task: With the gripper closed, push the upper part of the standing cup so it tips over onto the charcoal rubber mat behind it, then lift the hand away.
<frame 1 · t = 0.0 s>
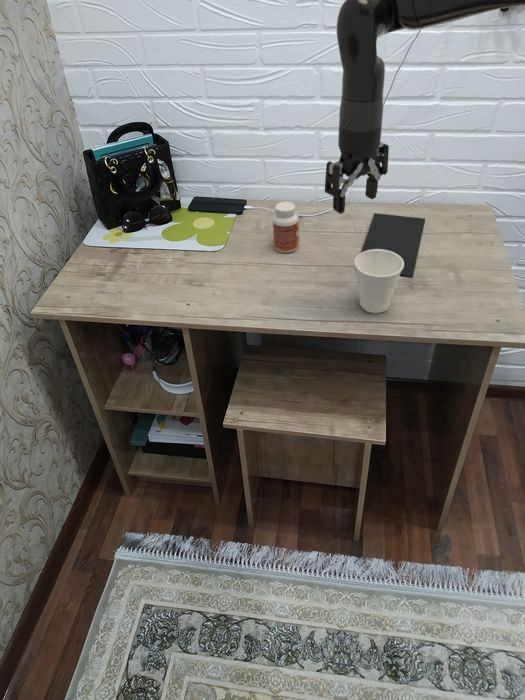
hand: (355, 204, 112), 21 cm above the table, tool pointing down, fingers open, 8 cm apart
pill bottle: (286, 247, 141), on the table
mat: (391, 243, 139), on the table
cup: (374, 306, 122), on the table
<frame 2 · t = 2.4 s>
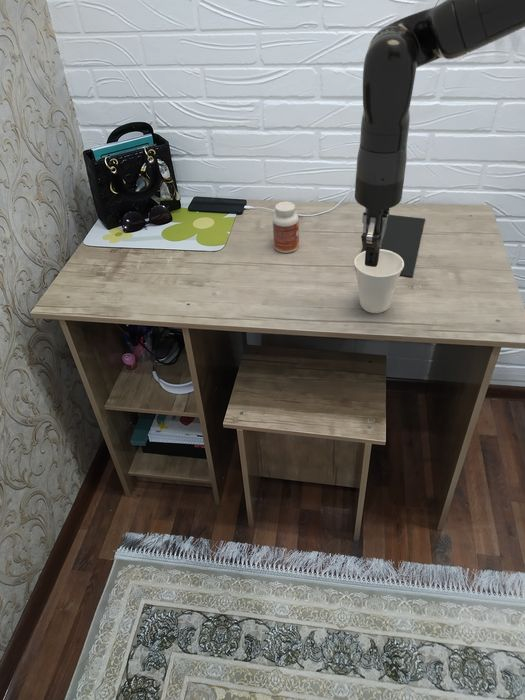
hand: (371, 264, 101), 19 cm above the table, tool pointing down, fingers closed
nothing on the table moved.
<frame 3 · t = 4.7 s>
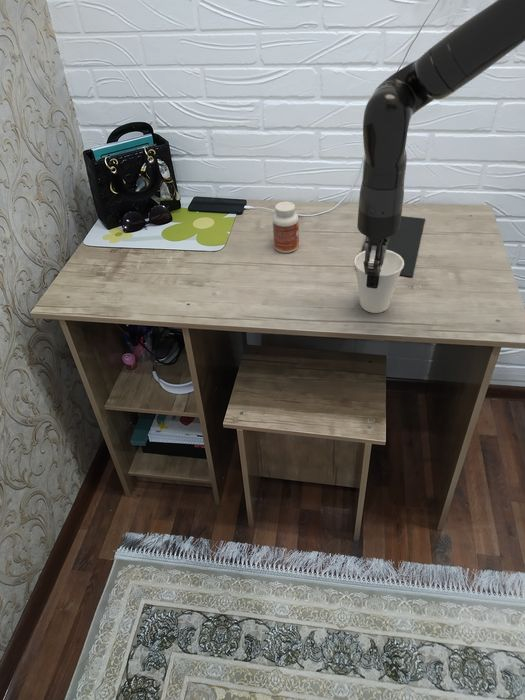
hand: (372, 285, 111), 10 cm above the table, tool pointing down, fingers closed
cup: (374, 305, 122), on the table, touching gripper
everything else where it was.
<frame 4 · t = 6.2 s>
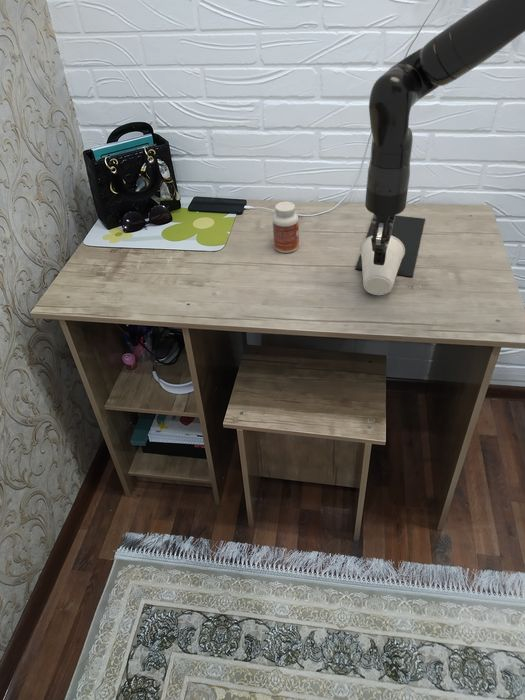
hand: (379, 262, 116), 10 cm above the table, tool pointing down, fingers closed
cup: (377, 287, 121), point 3 cm above the table, touching mat
everything else where it was.
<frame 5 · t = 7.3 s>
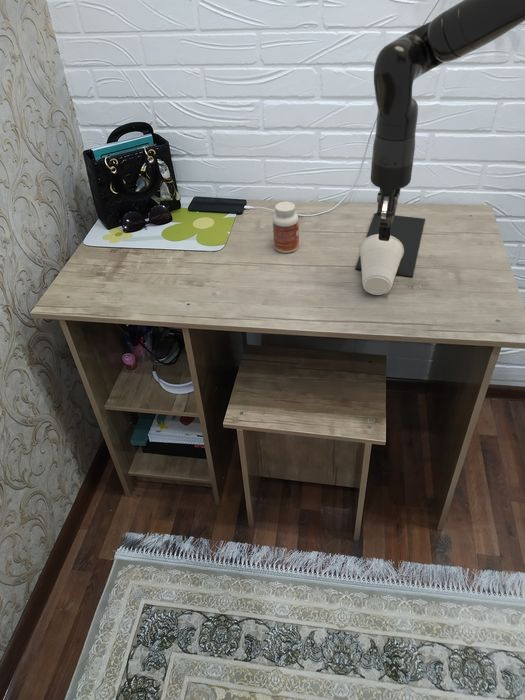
hand: (384, 238, 117), 13 cm above the table, tool pointing down, fingers closed
nothing on the table moved.
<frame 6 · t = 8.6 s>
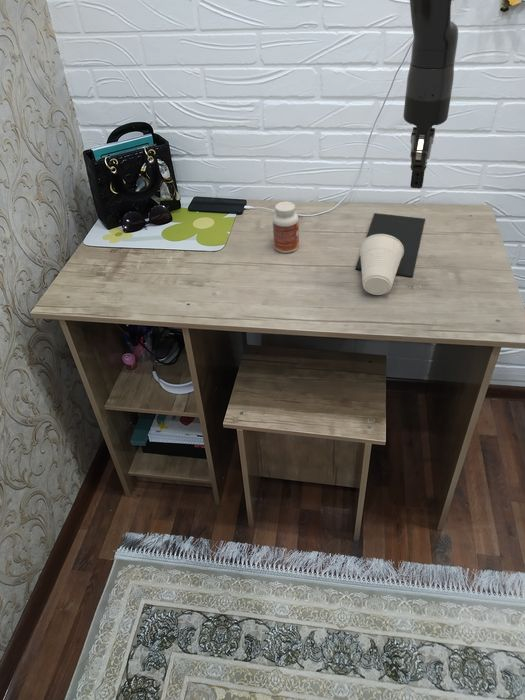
hand: (416, 186, 108), 25 cm above the table, tool pointing down, fingers closed
nothing on the table moved.
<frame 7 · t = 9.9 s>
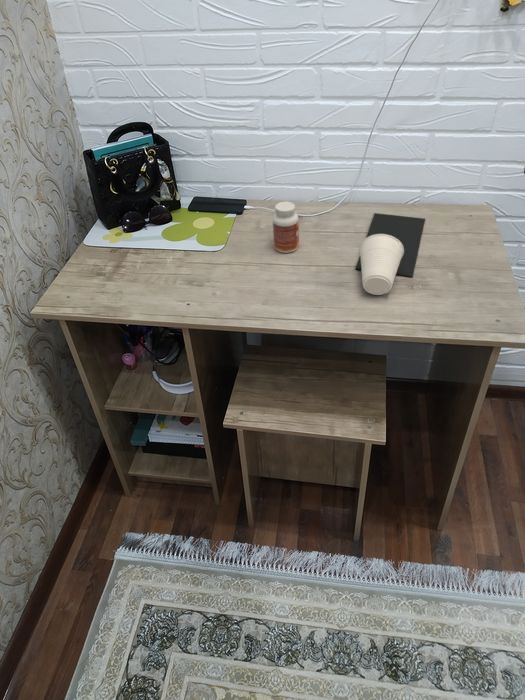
nothing on the table moved.
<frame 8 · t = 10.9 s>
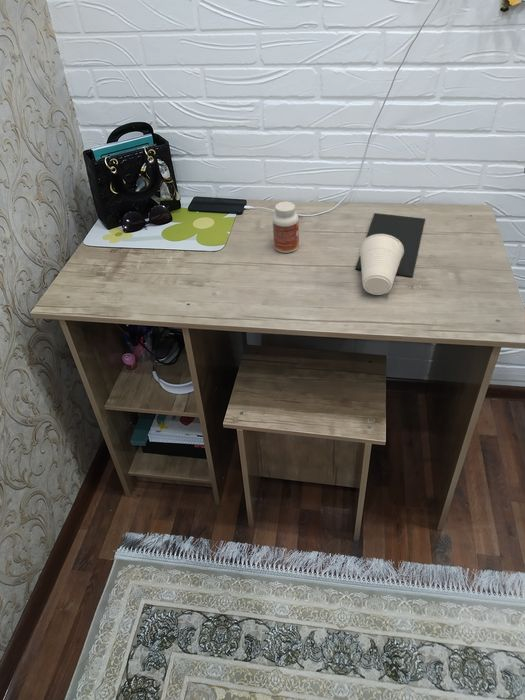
nothing on the table moved.
at the end: cup tilted 79°; cup touching mat, table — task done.
